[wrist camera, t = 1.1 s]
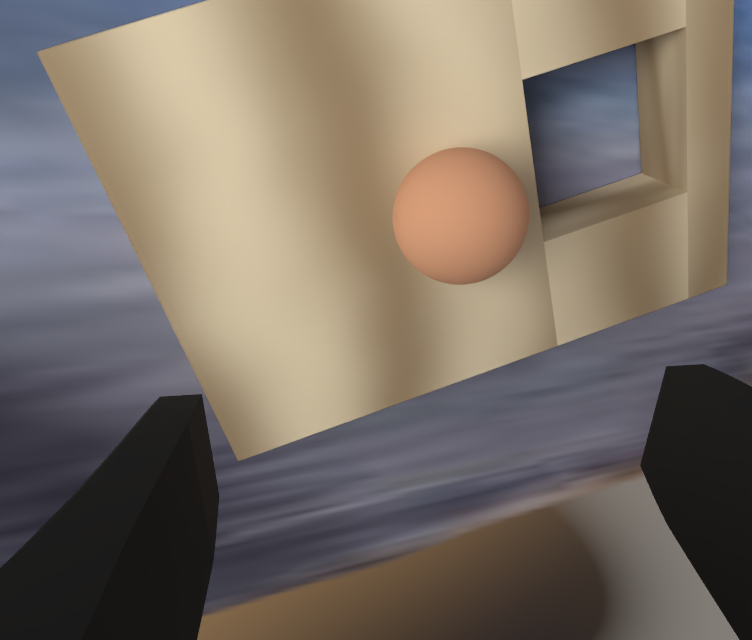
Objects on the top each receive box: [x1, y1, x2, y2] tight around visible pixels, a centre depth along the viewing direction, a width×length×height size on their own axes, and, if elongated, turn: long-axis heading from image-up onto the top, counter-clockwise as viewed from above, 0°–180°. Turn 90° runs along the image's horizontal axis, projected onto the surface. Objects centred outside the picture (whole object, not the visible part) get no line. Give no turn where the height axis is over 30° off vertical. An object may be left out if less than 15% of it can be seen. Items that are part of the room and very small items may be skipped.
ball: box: [392, 147, 529, 285], centre depth 17 cm, size 4×4×4 cm
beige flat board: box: [37, 0, 734, 461], centre depth 20 cm, size 18×13×2 cm
